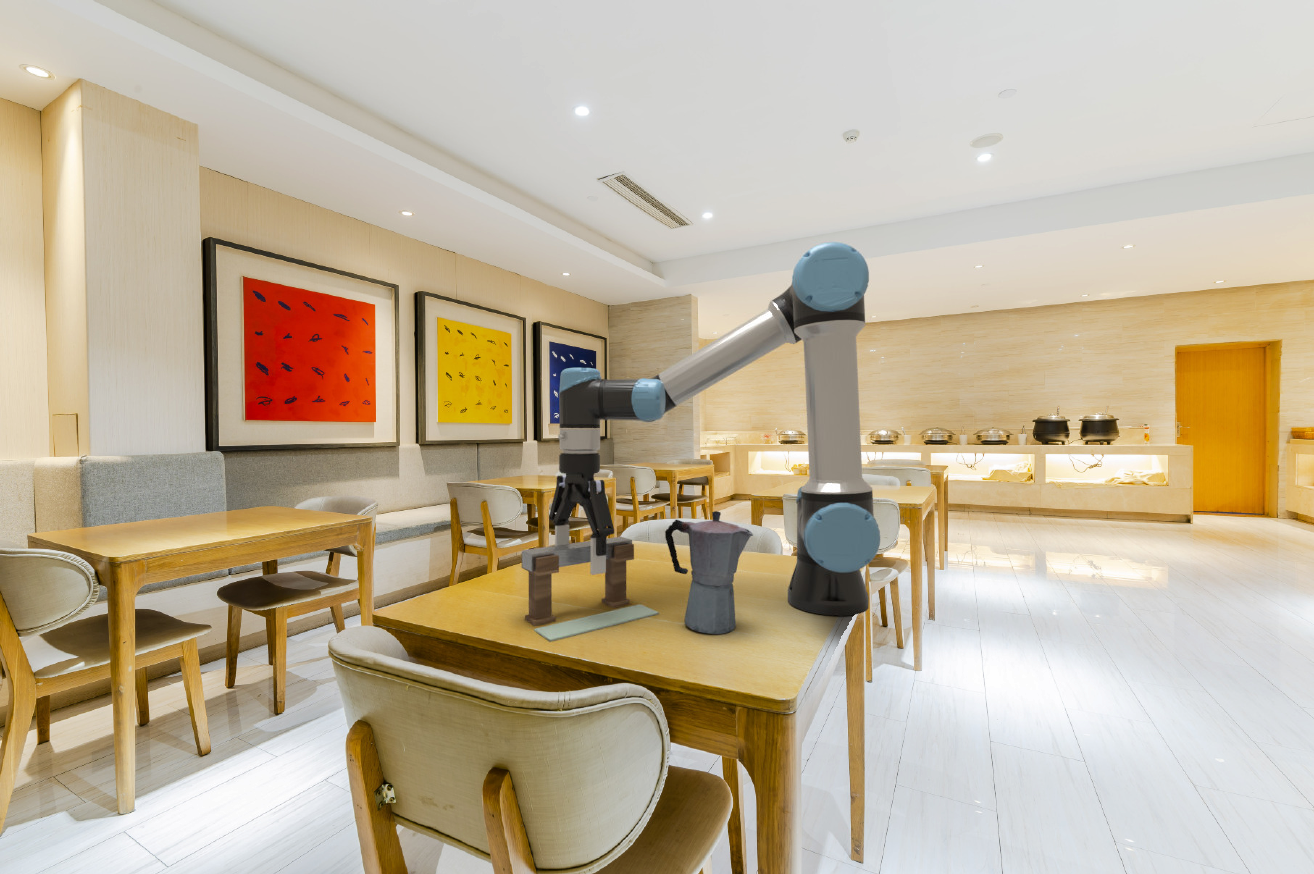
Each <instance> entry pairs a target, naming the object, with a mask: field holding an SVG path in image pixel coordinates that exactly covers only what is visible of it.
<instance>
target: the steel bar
mask: <svg viewBox="0 0 1314 874" xmlns="http://www.w3.org/2000/svg"><path fill="white" fill-rule="evenodd" d="M625 544H633V539H630V538H627V537H624V536H617V537H616V536H615V537H610V538H608V537H607V538H606V559H612V558H614V546H619V545H625ZM552 555H558V556H559V568H565V567H568V566H569V567H571V566H575V565H581V564H586V563H587V564H588V563H590V561H591V540H588V541H587V540H585V541H581V542H579V541H578V542H572V543H569V544H564V545H557V546H555V545H550V546H545V547H543V546H542V547H537V548H529V549H522V550H521V568H522V567H523V568H525V569H527V570H529V571H531V572H534V571H536V558H539V557H545V556H552ZM523 568H522V569H523ZM525 569H524V570H525ZM527 570H526V571H527ZM529 571H528V572H529Z"/></svg>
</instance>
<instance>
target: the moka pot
mask: <svg viewBox="0 0 1314 874" xmlns="http://www.w3.org/2000/svg"><path fill="white" fill-rule="evenodd" d="M711 514H712V515H711V516H712V520H705V521H698V522H693V521H683V520H682V521H681V520H679V519H674V521H672V522H671V523H672V524H670V525H669V526H668V528H667V529H666V530H665V531H664V535H665V541H666V544H667V546H668V551H669V555H670V558H671V563H672V566H673V570H674V572H675V573H679V574H682V575H687V574H688V572H689V569H688V568H686V567H685V568H684V567H681V566H680V561H679V560H678V554H677V553H678V552H677V549H676V545H675V541H674V537H673V532H675V531H679V532H680V533H683V534H688V542H689V543H688V544H689V545H688V546H689V558H690V566H691V569H692V570H691V571H690V573H691V579H692V580H691V583H690V588H689V590H688V591H689V592H688V598H687V604H686V609H685V613H684V621H683V622H684V625H685V626H687V627H688V628H689V629H690V630H693V631H695V632H697V633H702V634H711V635H722V634H723V635H724V634H727V633H728V634H729V633H730V632H732V631H733V630H735V628H736V625H737V624H736V622H737V620H736V608H735V590H734V585H733V583H734V580H735V577H734V576H735V574H736V573H737V570H738V564H739V559H740V557H741V554H742V553H743V552H744V549H745V547H746V546H747V543H748V541H749V539H750V538H751V537H752V536H754V533H753V532H752V531H750V530H749V529H747V528H744V527H741V526H739V525H737V524H733V523H729V522H725V521H722V520H720V519H721V515H722V512H721V511H716V510H715V511H712V512H711Z"/></svg>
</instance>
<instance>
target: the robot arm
mask: <svg viewBox="0 0 1314 874" xmlns="http://www.w3.org/2000/svg"><path fill="white" fill-rule="evenodd" d="M869 270H870V269H869V267H868V263H867V261H866V259H865V257H864V256H863V255H862V254H861V253H860V251H858V250H857V249H856V248H854V247H853V246H851V245H849V244H847V243H843V242H839V241H838V242H837V241H830V242H824V243H820V244H817V245H815V246H813V247H812V248H810V249H809V250H807V251H806V252H805V253H804V254H803V255H802V256H801V258H800V259H799V260H798V261H797V263H796V264H795V266H794V268H793V273H792V275H791V277H792V278H791V279H792V281H791V284H790V286H789V287H788V288H787V289H786V290H784V291H783V292H782V293H781V294H780V295H778V296H776V297H775V298H773V299H771V300H770V301H769V304H768V307H767V309H765V310H763V311H762V312H760V313H759V314H757V315H755V316H753V317H752V318H750V319H748V320H747V321H745V322H744V323H741V324H739V325H738V326H736V327H735V328H733V329H732V330H730V331H728V332H727V333H724V334H723V335H722V336H720V337H718V338H717V339H715V340H713V341H712V342H710V343H708V344H706V345H704V346H703V347H702V348H700V349H698V350H697V351H695V352H693V353H692V354H690V355H688V356H687V357H685V358H683V359H681V360H680V361H678V362H677V363H675V364H673V365H671V366H669V367H667V368H666V369H665V370H663V371H661V372H659V373H657V375H655V376H653V377H651V378H645V377H641V378H626V379H625V378H624V379H619V378H618V379H608V378H607V379H606V378H602V376H601V372H600V370H599V369H597V368H591V367H569V368H565V369H562V371H561V372H560V380H559V391H558V396H559V397H558V399H559V400H558V401H559V409H558V411H559V434H557V437H558V440H559V449H560V451H562V452H560V453H559V456H558V461H559V462H558V470H559V473H561V474H562V475H561V474H560V475H556V482H555V483H556V486H555V490H554V494H553V498H552V503H551V507H550V511H549V515H548V520H549V521H552V524H553V525H554V546H557V545H564V544H570V525H569V524H570V523H571V522H570V520H569V519H570V517H571V514H572V512H573V510H574V508H575V506H576V504H577V503H578V504H579V506H580V507H582V508H583V511H584V514H585V516H586V519H587V522H588V524H589V527H590V530H591V535H590V541H591V561H590V562H589V564H590V568H589V569H590V570H589V571H590V575H592V576H594V575H600V574H605V573H606V539H607V538H608V537H609V536H610V535H614V534H615V528H614V524H613V523H614V522H613V519H612V516H611V512H610V506H609V503H608V499H607V496H606V488H605V486H606V484H605V480H604V479H598V480H597V479H596V480H595V476H594V475H595V474H598V473H599V472H600V471H601V455H600V453H598V451H600V450H601V421H636V422H637V421H640V422H643V423H644V422H646V423H653V422H656V421H658V420H661V419H662V418H663V416H664V415H665V414H666V413H667V412H669V411H671V410H673V409H674V408H675V407H677V406H679V405H681V404H683V403H684V402H686V401H688V400H690V399H691V398H693V397H695V396H696V395H698V394H700V393H702V392H703V391H705V390H707V389H709V388H710V387H712V386H714V385H715V384H718V382H720V381H723V380H724V379H726V378H728V377H729V376H731V375H733V374H734V373H736V372H738V371H740V370H742V369H744V368H745V367H747V366H749V365H750V364H752V363H753V362H756V361H757V360H759V359H760V358H762V357H764V356H766V355H767V354H769V353H771V352H772V351H773V352H774V350H777V349H778V348H780V347H781V346H783V345H785V344H793V345H795V344H797V343H799V342H800V341H802V342H803V353H804V354H803V359H804V377H805V379H804V380H805V383H804V384H805V400H806V401H805V402H806V403H805V404H806V405H805V406H806V425H807V426H806V427H807V446H808V447H807V449H808V469H809V470H808V471H809V479H808V480H807V482H806V483H805V484H804V485H803V486H801V487H799V488H798V490H797V494H796V495H797V496H796V499H795V503H796V563H795V566H794V569H793V572H792V574H791V578H790V582H789V584H788V588H787V602H788V604H790V606H792V607H794V608H796V609H798V610H801V611H804V612H809V613H813V614H817V615H824V616H834V615H838V616H840V617H841V616H842V617H843V616H846V617H847V616H854V615H859V614H863V613H865V612H867V611H868V610H869V605H870V604H869V600H870V599H869V593H868V591H867V588H866V584H865V580H864V578H863V574H862V572H861V569H863V568H864V567H866V566H868V564H870V563H871V562H872V561H873V559H874V558H875V557H876V555H877V554H878V551H879V549H880V544H881V534H880V533H881V531H880V527H879V524H878V523H877V520H876V518H875V516H874V498H873V497H874V496H873V493H874V492H873V487H872V486H871V485H870V484H868V482H867V481H865V479H864V478H863V466H862V465H863V464H862V463H863V462H862V442H861V439H862V438H861V420H860V419H861V417H860V416H861V415H860V398H859V397H860V396H859V395H860V393H859V392H860V391H859V376H858V375H859V373H858V372H859V371H858V349H857V336H858V334H859V333H860V332H861V331H862V330H863V329H864V328H865V327H866V310H865V306H866V305H865V293H866V292H867V289H868V287H869V281H870V272H869ZM563 474H564V475H563ZM838 616H837V617H838Z"/></svg>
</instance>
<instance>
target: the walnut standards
mask: <svg viewBox="0 0 1314 874" xmlns="http://www.w3.org/2000/svg"><path fill="white" fill-rule="evenodd" d="M633 560H635V544H634V543H632V544H625V545H619V546H614V558H612V559H606V573H604V597H603V598H601V603H602V604H603V605H605V606H608V607H609V608H611V609H614V608H619V607H623V606H627V605H631V600H630V599H629V598H627V561H628V562H629V561H633ZM521 569H523V570H525V571H527V572H528V614H525V615H524V620H525V621H526V622H528V623H529V624H531V625H532V626H534V627H537V626H542V625H545V624H549V623H550V624H551V623H553V622H556V616H555V615H553V614H552V613H553V611H552V608H553V606H552V604H553V603H552V596H553V595H552V593H553V592H552V589H553V588H552V575H553V574H556V573H557V574H558V573H560V567H559V556H558V555H552V556H545V557H539V558H536V571H534V572H531V571H529V570H527V569H525V568H523V567H522V566H521Z"/></svg>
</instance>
